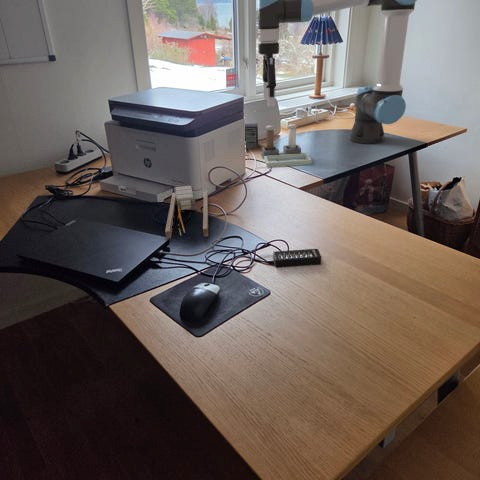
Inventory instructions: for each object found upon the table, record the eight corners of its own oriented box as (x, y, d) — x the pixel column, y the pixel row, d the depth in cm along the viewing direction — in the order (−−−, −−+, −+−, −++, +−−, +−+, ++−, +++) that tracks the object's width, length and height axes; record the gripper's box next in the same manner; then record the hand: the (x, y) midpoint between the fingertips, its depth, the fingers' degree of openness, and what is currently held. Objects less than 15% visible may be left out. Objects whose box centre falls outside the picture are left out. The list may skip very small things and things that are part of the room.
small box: (258, 146, 190) (258, 122, 185) (257, 150, 184) (257, 126, 180) (235, 146, 191) (234, 123, 186) (233, 150, 186) (232, 126, 181)
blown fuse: (273, 154, 175) (273, 125, 169) (274, 156, 172) (274, 127, 166) (265, 154, 175) (265, 125, 169) (266, 157, 172) (266, 127, 166)
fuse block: (298, 153, 177) (298, 144, 175) (302, 158, 171) (302, 149, 169) (260, 156, 177) (260, 146, 175) (262, 161, 170) (262, 151, 169)
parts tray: (306, 159, 170) (306, 153, 169) (311, 166, 162) (311, 160, 161) (264, 162, 170) (264, 155, 168) (267, 169, 162) (266, 163, 160)
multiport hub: (273, 259, 103) (272, 251, 102) (317, 256, 104) (317, 248, 103) (275, 269, 100) (275, 260, 98) (321, 265, 100) (321, 257, 99)
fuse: (295, 153, 175) (295, 123, 169) (296, 155, 172) (297, 125, 166) (287, 153, 175) (287, 124, 169) (288, 155, 172) (288, 126, 166)
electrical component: (201, 242, 119) (200, 228, 116) (180, 245, 118) (178, 231, 115) (193, 196, 137) (192, 183, 134) (174, 198, 136) (173, 185, 133)
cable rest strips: (207, 197, 140) (207, 190, 139) (208, 236, 115) (207, 228, 114) (173, 199, 139) (172, 192, 138) (166, 239, 115) (165, 231, 113)
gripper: (255, 40, 164) (256, 97, 174) (262, 44, 142) (263, 109, 152) (274, 39, 164) (274, 96, 174) (284, 43, 142) (283, 108, 152)
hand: (269, 102), depth 163 cm, fingers open, 13 cm apart
